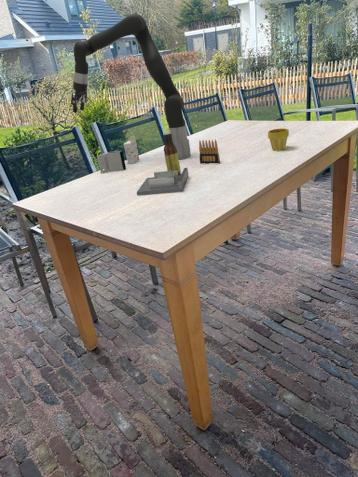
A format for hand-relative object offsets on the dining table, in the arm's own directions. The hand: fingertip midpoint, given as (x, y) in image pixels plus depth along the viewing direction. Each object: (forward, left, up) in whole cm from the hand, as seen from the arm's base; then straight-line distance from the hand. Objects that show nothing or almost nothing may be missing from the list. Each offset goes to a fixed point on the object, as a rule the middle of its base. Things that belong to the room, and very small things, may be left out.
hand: (78, 111), depth 210 cm
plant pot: (-85, +70, -32) cm, 114 cm away
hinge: (-6, +27, -32) cm, 42 cm away
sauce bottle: (-26, +64, -32) cm, 76 cm away
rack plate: (-15, +76, -31) cm, 84 cm away
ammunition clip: (-48, +61, -32) cm, 84 cm away
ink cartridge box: (-21, +18, -32) cm, 42 cm away
